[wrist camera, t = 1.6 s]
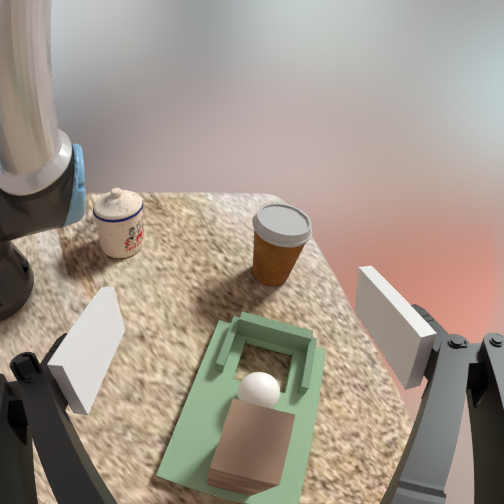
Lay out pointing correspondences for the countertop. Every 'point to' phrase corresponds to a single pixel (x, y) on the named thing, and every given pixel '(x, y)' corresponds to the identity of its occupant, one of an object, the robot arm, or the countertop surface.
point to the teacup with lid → (119, 223)
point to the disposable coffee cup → (278, 241)
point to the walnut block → (251, 449)
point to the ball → (259, 390)
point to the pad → (226, 388)
